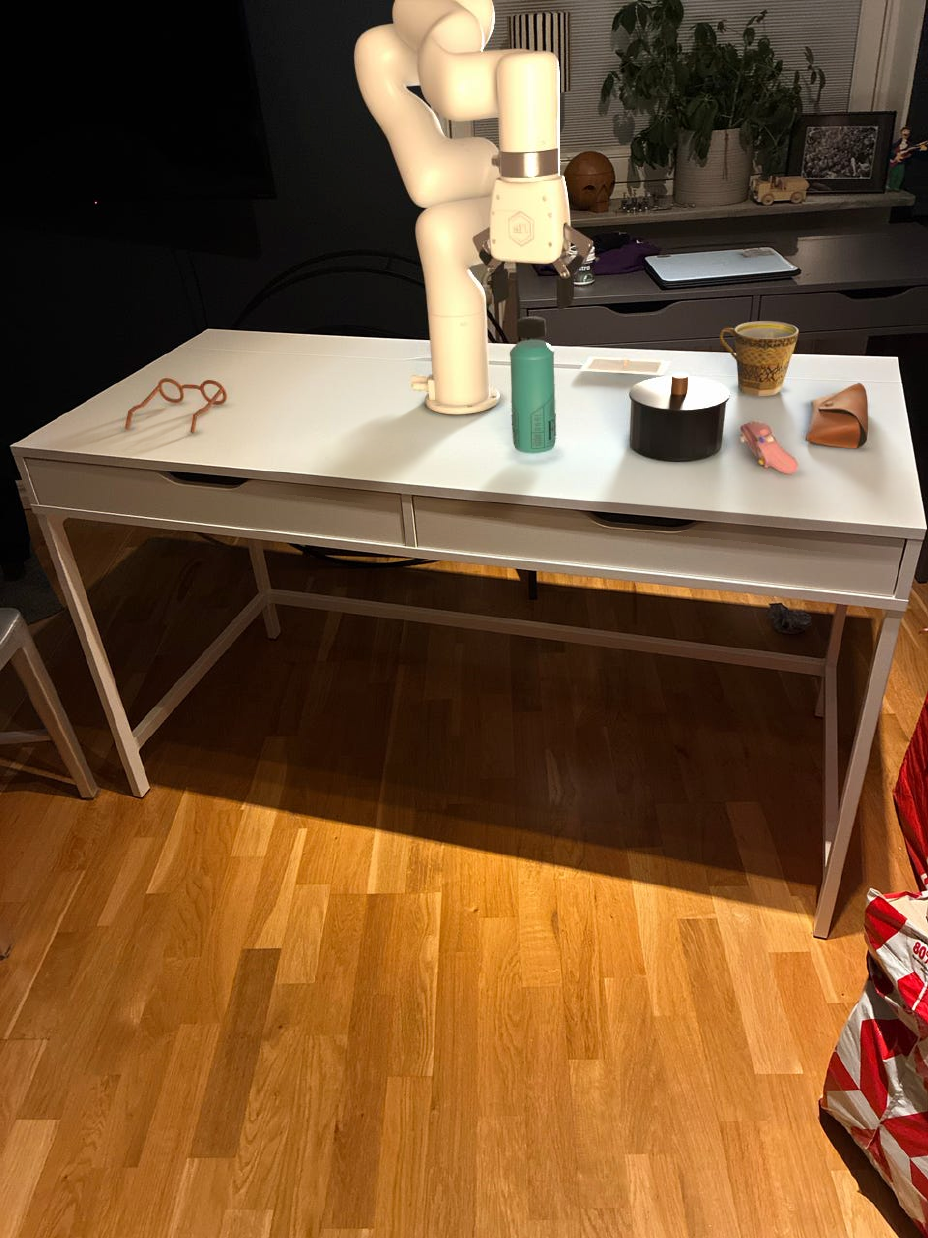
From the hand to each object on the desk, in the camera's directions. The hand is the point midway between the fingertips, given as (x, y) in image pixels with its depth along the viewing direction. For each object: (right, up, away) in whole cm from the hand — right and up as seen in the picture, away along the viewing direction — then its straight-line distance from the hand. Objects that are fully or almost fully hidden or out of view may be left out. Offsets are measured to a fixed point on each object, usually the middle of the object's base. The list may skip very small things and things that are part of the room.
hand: (532, 303), depth 128 cm
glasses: (-59, -8, +34) cm, 68 cm away
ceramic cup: (+39, -4, +31) cm, 50 cm away
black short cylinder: (+22, -17, +12) cm, 30 cm away
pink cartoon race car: (+33, -21, +5) cm, 40 cm away
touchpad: (+20, +2, +41) cm, 46 cm away
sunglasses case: (+47, -13, +15) cm, 52 cm away
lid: (+22, -10, +8) cm, 26 cm away
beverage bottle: (+1, -19, +12) cm, 22 cm away
